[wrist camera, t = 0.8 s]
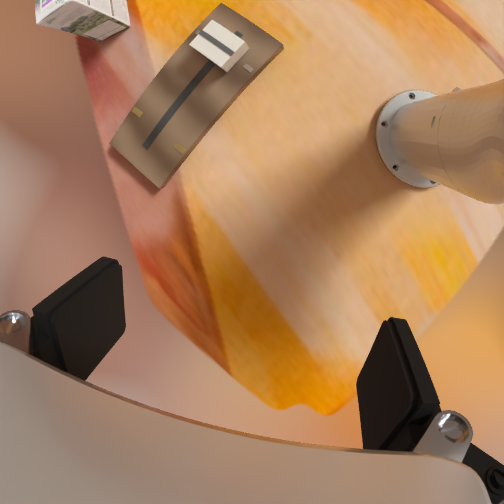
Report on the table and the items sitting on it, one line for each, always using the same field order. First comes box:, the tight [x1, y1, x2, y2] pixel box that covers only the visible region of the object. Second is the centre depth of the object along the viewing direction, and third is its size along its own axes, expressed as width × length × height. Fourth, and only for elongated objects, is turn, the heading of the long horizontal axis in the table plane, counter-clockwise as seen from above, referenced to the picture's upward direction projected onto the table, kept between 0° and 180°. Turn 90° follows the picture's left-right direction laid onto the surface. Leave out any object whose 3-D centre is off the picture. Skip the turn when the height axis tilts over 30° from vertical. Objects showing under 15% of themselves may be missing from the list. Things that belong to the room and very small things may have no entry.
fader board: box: [109, 3, 284, 188], centre depth 35 cm, size 24×10×2 cm, turn 139°
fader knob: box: [189, 20, 250, 72], centre depth 30 cm, size 4×5×3 cm
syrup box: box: [35, 0, 130, 41], centre depth 26 cm, size 6×6×14 cm
